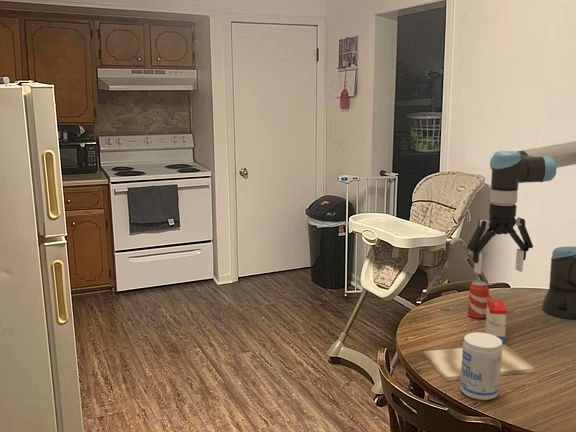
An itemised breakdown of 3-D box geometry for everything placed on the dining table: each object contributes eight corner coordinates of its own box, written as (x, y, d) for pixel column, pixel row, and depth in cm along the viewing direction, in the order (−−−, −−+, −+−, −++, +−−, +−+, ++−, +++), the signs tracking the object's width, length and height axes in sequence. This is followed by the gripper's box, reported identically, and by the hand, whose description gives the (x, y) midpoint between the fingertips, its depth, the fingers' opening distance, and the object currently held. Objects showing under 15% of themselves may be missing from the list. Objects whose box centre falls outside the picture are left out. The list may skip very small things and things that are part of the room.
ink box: (505, 346, 177) (508, 300, 174) (488, 344, 178) (490, 299, 175) (500, 334, 185) (503, 291, 182) (484, 333, 186) (487, 290, 183)
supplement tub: (453, 393, 150) (456, 340, 147) (468, 379, 157) (471, 328, 154) (490, 405, 144) (494, 350, 141) (504, 390, 151) (508, 338, 148)
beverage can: (480, 321, 196) (482, 287, 194) (464, 315, 201) (466, 282, 199) (490, 316, 200) (492, 283, 198) (474, 311, 205) (476, 278, 202)
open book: (504, 347, 176) (505, 340, 175) (534, 372, 161) (535, 364, 160) (423, 355, 172) (423, 347, 171) (446, 381, 156) (446, 372, 156)
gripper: (534, 199, 178) (529, 265, 183) (458, 202, 174) (454, 270, 179) (549, 204, 171) (542, 272, 175) (469, 207, 167) (465, 277, 171)
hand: (498, 271), depth 177 cm, fingers open, 13 cm apart
